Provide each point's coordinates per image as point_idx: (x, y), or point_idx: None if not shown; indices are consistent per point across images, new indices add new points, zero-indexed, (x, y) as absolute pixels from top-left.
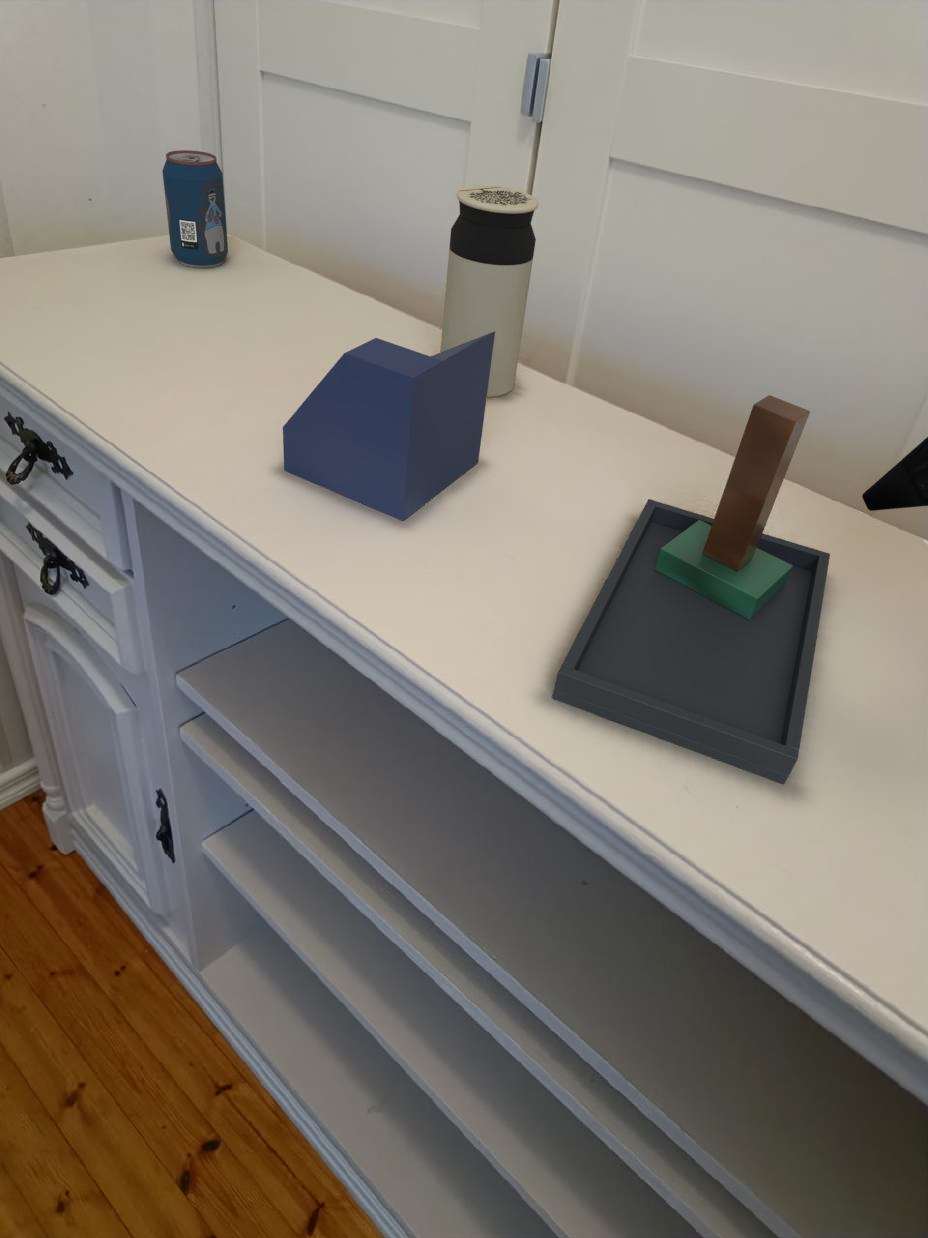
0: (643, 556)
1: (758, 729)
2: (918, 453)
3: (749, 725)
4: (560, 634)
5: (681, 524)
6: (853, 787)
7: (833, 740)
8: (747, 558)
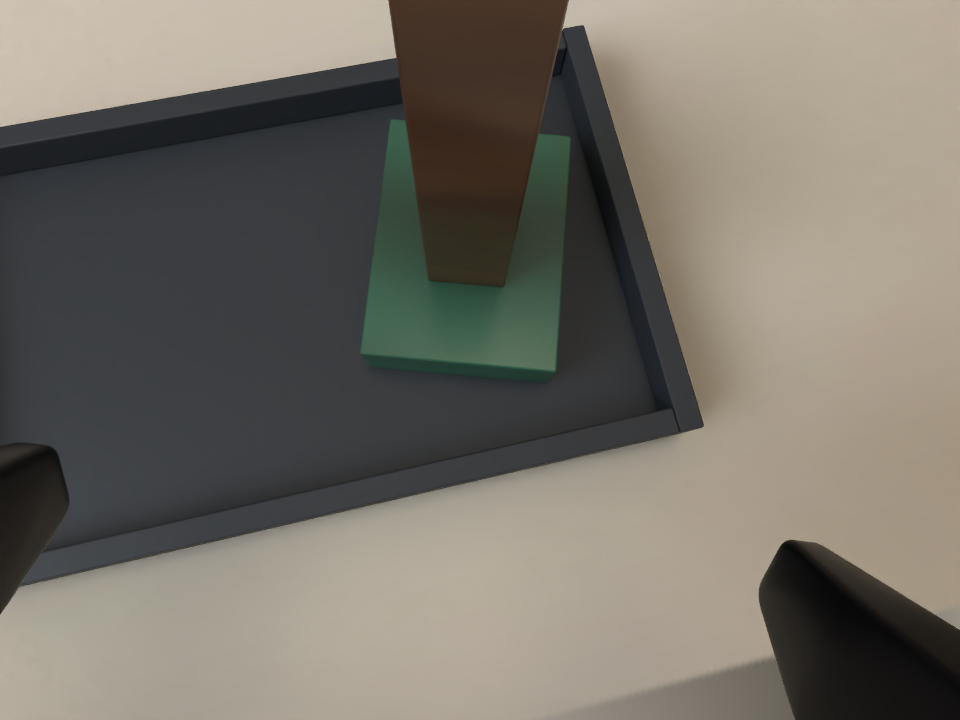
0: None
1: None
2: None
3: None
4: None
5: (579, 123)
6: (40, 715)
7: (150, 638)
8: (461, 276)
